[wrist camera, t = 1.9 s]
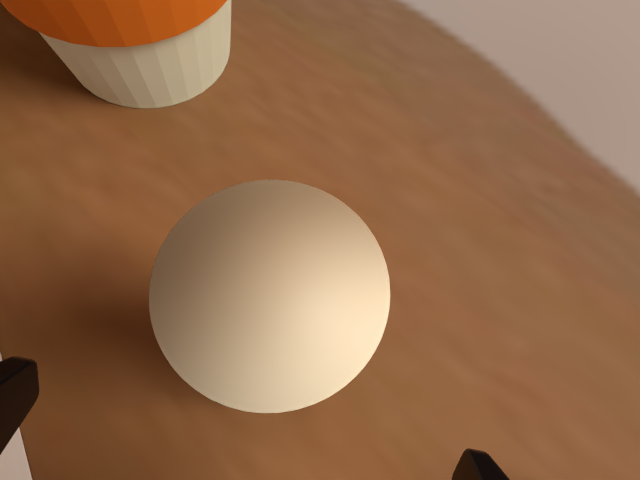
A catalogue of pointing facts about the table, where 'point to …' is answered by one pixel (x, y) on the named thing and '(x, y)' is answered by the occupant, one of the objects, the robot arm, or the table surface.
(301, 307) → the cream ridged cylinder
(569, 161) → the table surface
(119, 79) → the reusable coffee cup
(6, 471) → the frame
